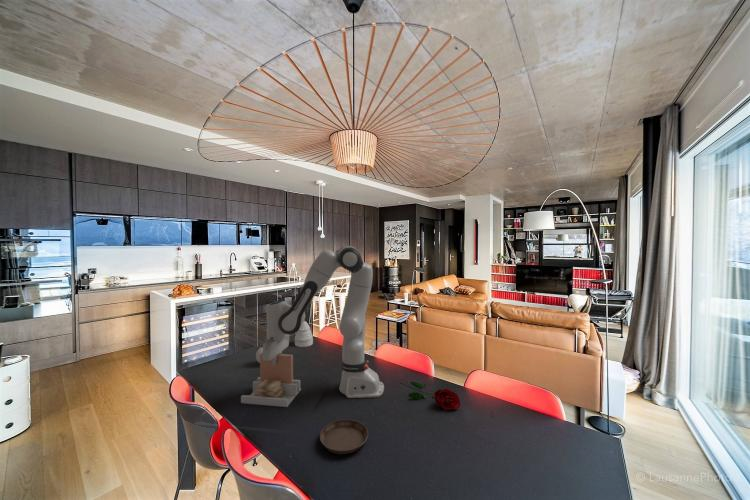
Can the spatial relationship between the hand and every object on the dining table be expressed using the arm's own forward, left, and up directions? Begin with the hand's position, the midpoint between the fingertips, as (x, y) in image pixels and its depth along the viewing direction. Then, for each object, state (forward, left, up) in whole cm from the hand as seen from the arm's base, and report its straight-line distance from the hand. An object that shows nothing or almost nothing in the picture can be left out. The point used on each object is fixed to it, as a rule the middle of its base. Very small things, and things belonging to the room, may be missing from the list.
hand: (276, 362), depth 139 cm
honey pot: (+14, -68, -15) cm, 71 cm away
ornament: (+24, -32, -15) cm, 43 cm away
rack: (0, +4, -15) cm, 16 cm away
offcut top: (0, +7, -9) cm, 11 cm away
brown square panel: (0, 0, -14) cm, 14 cm away
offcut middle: (0, +7, -12) cm, 13 cm away
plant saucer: (-41, +28, -16) cm, 52 cm away
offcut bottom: (0, +7, -14) cm, 16 cm away
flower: (-72, -3, -15) cm, 74 cm away
